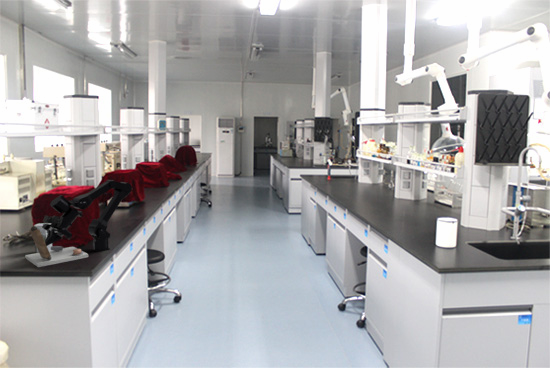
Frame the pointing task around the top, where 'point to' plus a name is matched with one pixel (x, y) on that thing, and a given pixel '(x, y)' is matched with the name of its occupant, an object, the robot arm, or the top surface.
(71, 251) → the control panel
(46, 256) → the walnut lever
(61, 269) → the top surface
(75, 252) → the terracotta button
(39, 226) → the syrup box
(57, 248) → the grey rectangular block
